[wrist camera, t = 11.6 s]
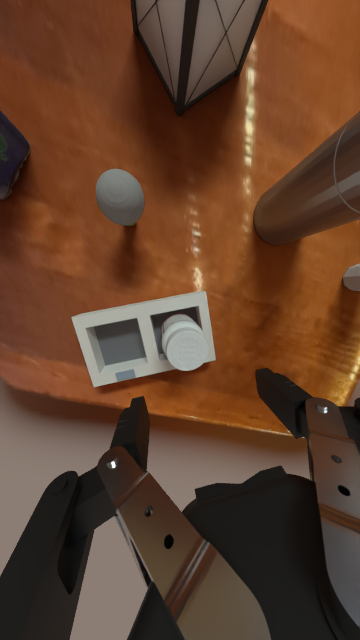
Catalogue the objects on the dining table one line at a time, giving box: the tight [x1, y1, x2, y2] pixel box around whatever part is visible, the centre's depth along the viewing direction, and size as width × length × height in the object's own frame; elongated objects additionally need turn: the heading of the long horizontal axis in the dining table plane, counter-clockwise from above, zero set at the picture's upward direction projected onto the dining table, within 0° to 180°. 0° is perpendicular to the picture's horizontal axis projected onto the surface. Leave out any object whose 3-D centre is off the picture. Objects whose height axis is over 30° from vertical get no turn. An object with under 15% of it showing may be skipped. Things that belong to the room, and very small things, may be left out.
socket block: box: [71, 291, 216, 387], centre depth 30 cm, size 21×12×4 cm, turn 100°
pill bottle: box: [161, 313, 208, 371], centre depth 26 cm, size 6×6×11 cm
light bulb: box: [96, 169, 145, 226], centre depth 23 cm, size 5×6×10 cm
